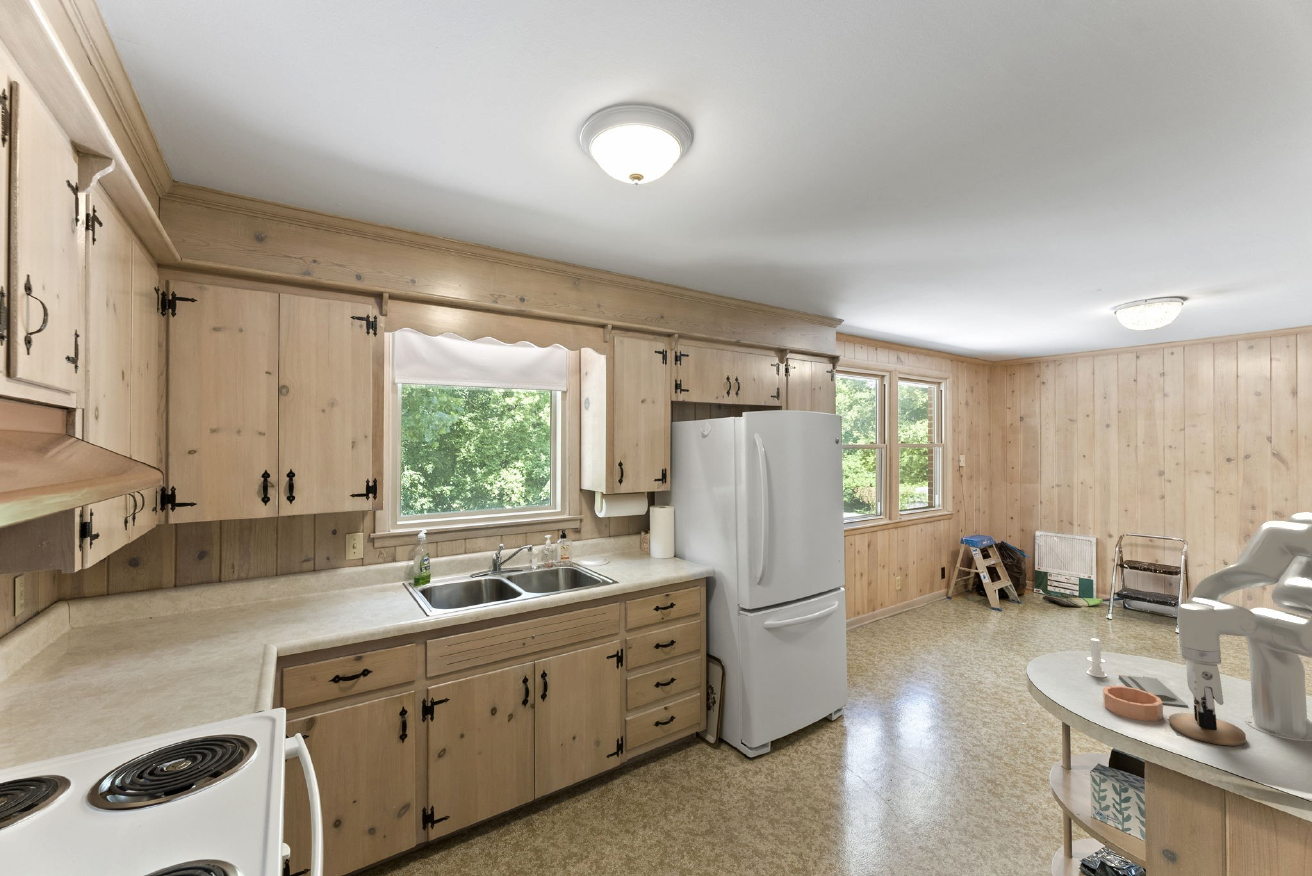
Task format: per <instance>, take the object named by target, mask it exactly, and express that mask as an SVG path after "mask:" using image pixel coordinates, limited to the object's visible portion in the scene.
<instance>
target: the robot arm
mask: <svg viewBox="0 0 1312 876" xmlns="http://www.w3.org/2000/svg"><path fill="white" fill-rule="evenodd" d="M1273 585H1274V587H1273V589H1272V591H1271V600H1272V601H1273V603H1274V604H1275V605H1277V607H1279V608H1280V609H1281V608H1282V609H1284V610H1286V611H1284V610H1279V609H1276V608H1269V607H1253V608H1250V609H1248V608H1247V607H1246V608H1245V607H1244V606H1239V605H1237V604H1232V603H1229V602H1225V601H1221V600H1222V599H1224V598H1225V597H1226V596H1228V595H1230V594H1231V593H1234V592H1237V591H1241V590H1245V589H1252V588H1253V589H1254V588H1259V587H1260V588H1261V587H1267V586H1273ZM1287 611H1288V612H1287ZM1176 612H1177V613H1176V614H1177V615H1176V616H1177V626H1178V639H1179V651H1180V658H1182V659H1184V660H1185V668H1186V670H1185V671H1186V680H1187V686H1188V689H1189V691H1190V693H1191V694H1192V696H1193V704H1194V705H1193V710H1194V711H1193V714H1195V720H1196V721H1198V720H1197V707H1196V705H1197V704H1199V710H1200V711H1198V718H1199V726H1200V727H1201V728H1205V729H1211V730H1217V723H1216V719H1217V714H1216V707H1215V706H1216V705H1215V702H1216V703H1217V704H1218V705H1219V706H1222V705H1224V704H1225V703H1224V696H1223V688H1222V682H1221V681H1222V680H1221V676H1220V670H1219V666H1218V665H1220V664H1222V656H1221V655H1222V654H1221V652H1222V651H1221V645H1220V644H1221V642H1220V636H1222V635H1225V636H1234V637H1245V640H1246V643H1247V647H1248V648H1247V649H1248V657H1249V673H1250V674H1249V675H1250V693H1251V709H1252V711H1251V713H1252V716H1251V715H1250V716H1247V717H1245V718H1244V721H1243V722H1244V723H1245V724H1246V725H1247V726H1248V727H1250V728H1252V729H1254V730H1256V731H1258V732H1261V733H1263V734H1267V735H1269V736H1273V737H1277V738H1281V739H1283V740H1284V739H1285V740H1290V741H1296V742H1312V721H1311V720H1309V718H1308V708H1307V706H1308V705H1307V693H1306V692H1307V691H1306V672H1305V667H1304V663H1303V661H1302V660H1301V658H1300V656H1303V657H1307V658H1310V659H1312V512H1305V511H1304V512H1297V513H1294V514H1292V515H1291V516H1290V517H1289V518H1288V519H1287V521H1286V520H1271V521H1267V522H1264V523H1263V524H1261V525H1260V526H1259V527H1258V528H1257V529H1256V531H1255V532H1254V534H1253V535H1252V537H1251V538H1250V540H1249V541H1248V543H1247V545H1246V546H1245V547H1244V549H1243V550H1242V551H1241V553H1240V555H1239V556H1238V558H1237V559H1236V561H1234V563H1232V564H1231V565H1229V566H1226V567H1224V568H1221V569H1219V570H1217V571H1215V572H1213V573H1211V574H1210V575H1208V576H1206V577H1204V578H1203V579H1202V580H1200V581H1199V582H1198V583H1197V584H1196V585H1195V586H1194V589H1193V590H1192V591H1191V593H1190V595H1188V598H1186V602H1185V603H1181V604H1179V605H1178V606H1177V609H1176ZM1291 612H1292V613H1291ZM1299 614H1300V615H1299ZM1203 704H1204V706H1203Z"/></svg>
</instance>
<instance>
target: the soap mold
mask: <svg viewBox="0 0 1312 876" xmlns="http://www.w3.org/2000/svg"><path fill="white" fill-rule="evenodd" d="M1118 680H1119V681H1120V682H1121V683H1122V684H1123V685H1124V687H1130V688H1136V689H1139V690H1142V691H1146V692H1149V693H1151V694H1153V695H1155V696H1157V697H1159V698H1160V699H1161V701H1162V703H1163V706H1172V707H1180V708H1189V705H1188V704H1187V703H1186V702H1185V701H1184V700H1182V699H1181V698H1180V697H1179V696H1178V695H1176V694H1175V693H1174V692H1173V691H1172V690H1171V689H1170V688H1168V687H1167V686H1166V685H1165V684H1164V683H1163V682H1161V680H1159V679H1158V678H1155V677H1149V676H1135V675H1133V676H1132V675H1124V674H1123V675H1122V674H1119V675H1118Z"/></svg>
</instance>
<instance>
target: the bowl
mask: <svg viewBox="0 0 1312 876" xmlns="http://www.w3.org/2000/svg"><path fill="white" fill-rule="evenodd" d="M1102 698H1103V699H1102V702H1103V706H1104V708H1106V709H1107V710H1108V711H1110V712H1112V713H1114V714H1116V715H1118V716H1121V717H1125V718H1128V719H1132V720H1137V721H1144V722H1158V721H1160V720H1161V719H1164V705H1163V703H1162V701H1161V699H1160V698H1159V697H1157V696H1155V695H1153V694H1151V693H1149V692H1146V691H1142V690H1139V689H1136V688H1130V687H1126V686H1125V685H1124V686H1123V685H1108V686H1105V687H1103V688H1102Z"/></svg>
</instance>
